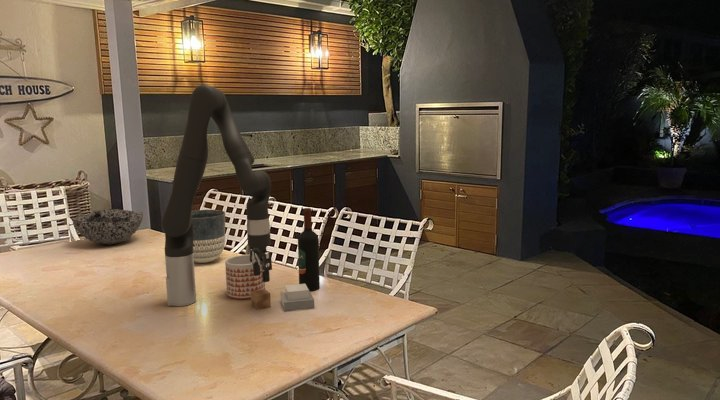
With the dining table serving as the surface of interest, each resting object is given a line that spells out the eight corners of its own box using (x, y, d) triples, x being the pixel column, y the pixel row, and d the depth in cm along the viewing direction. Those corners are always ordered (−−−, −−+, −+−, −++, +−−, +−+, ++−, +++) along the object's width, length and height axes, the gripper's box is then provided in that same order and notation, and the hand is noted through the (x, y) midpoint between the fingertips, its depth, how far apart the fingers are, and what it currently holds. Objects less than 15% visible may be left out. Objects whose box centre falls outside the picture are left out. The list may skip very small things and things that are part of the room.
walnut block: (256, 310, 181) (256, 295, 180) (251, 305, 185) (251, 291, 185) (270, 307, 184) (270, 293, 183) (265, 302, 188) (265, 289, 187)
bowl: (61, 250, 262) (58, 219, 259) (102, 235, 292) (99, 207, 290) (121, 252, 257) (118, 221, 254) (156, 236, 287) (154, 209, 285)
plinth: (284, 311, 180) (283, 293, 179) (280, 301, 189) (280, 284, 188) (314, 308, 182) (314, 290, 181) (309, 298, 192) (308, 281, 191)
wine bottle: (316, 291, 198) (314, 211, 193) (296, 290, 200) (294, 210, 195) (321, 285, 206) (320, 207, 201) (302, 284, 207) (300, 206, 202)
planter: (236, 259, 242) (234, 212, 239) (202, 270, 226) (199, 219, 223) (206, 253, 253) (203, 208, 249) (171, 263, 237) (168, 215, 233)
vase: (247, 284, 207) (245, 252, 205) (273, 291, 199) (272, 257, 197) (218, 295, 196) (217, 260, 194) (245, 302, 188) (243, 266, 186)
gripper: (277, 233, 177) (280, 281, 179) (261, 226, 189) (264, 271, 191) (255, 237, 173) (258, 286, 175) (240, 229, 185) (243, 275, 188)
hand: (261, 278), depth 183 cm, fingers open, 8 cm apart
